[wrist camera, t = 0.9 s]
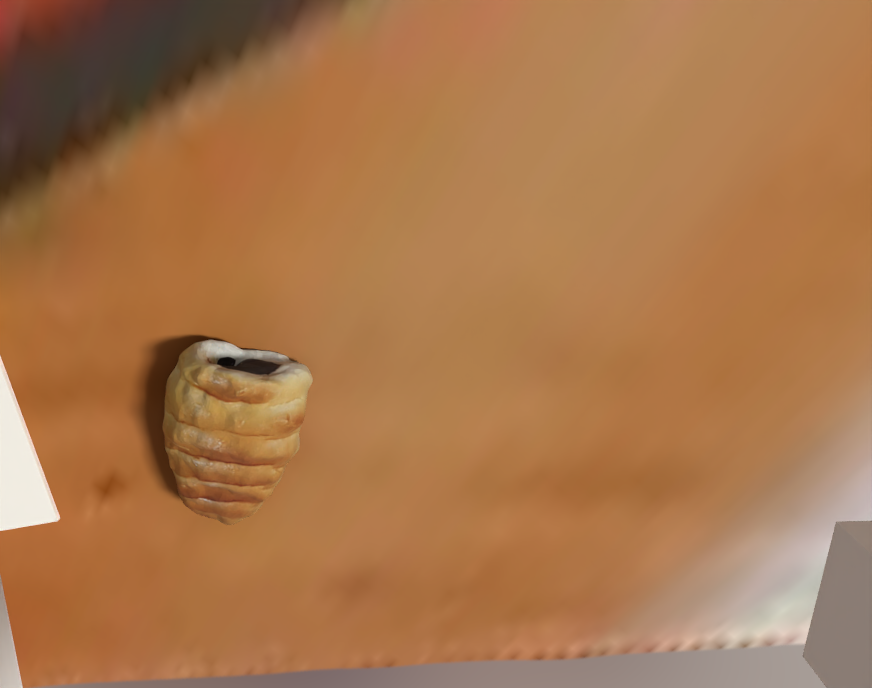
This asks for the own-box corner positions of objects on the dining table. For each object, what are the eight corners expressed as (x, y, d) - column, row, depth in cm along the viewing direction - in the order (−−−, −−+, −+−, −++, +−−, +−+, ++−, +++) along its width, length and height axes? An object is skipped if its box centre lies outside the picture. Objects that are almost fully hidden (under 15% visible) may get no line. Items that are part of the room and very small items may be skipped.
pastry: (286, 514, 39) (277, 557, 36) (157, 494, 38) (134, 536, 35) (317, 353, 36) (311, 382, 33) (179, 327, 35) (157, 354, 32)
